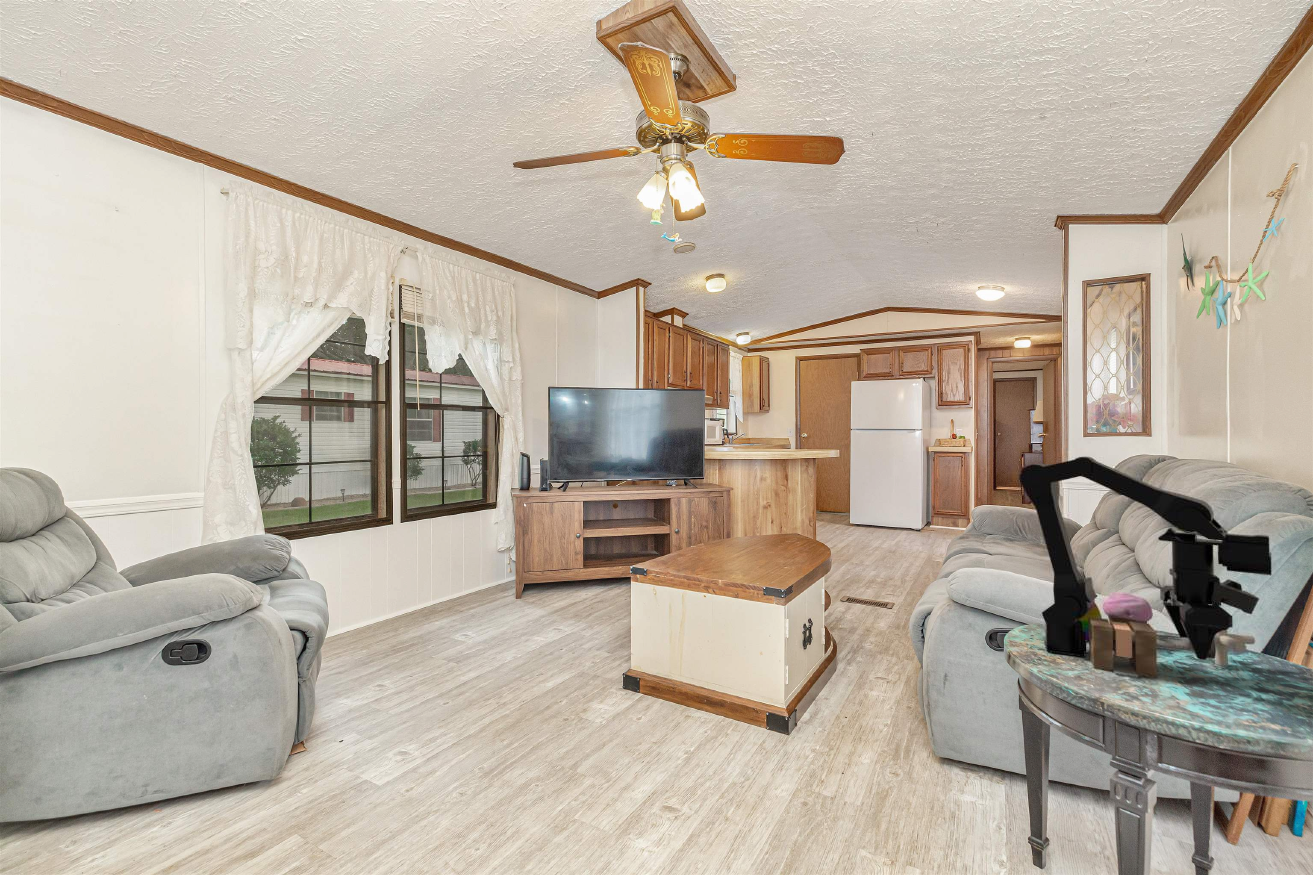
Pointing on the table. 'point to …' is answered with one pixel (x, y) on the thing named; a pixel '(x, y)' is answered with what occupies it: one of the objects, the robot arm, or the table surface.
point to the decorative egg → (1085, 619)
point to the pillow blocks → (1141, 650)
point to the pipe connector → (1230, 645)
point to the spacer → (1122, 640)
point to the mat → (1123, 667)
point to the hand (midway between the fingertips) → (1194, 651)
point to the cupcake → (1127, 608)
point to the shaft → (1175, 643)
